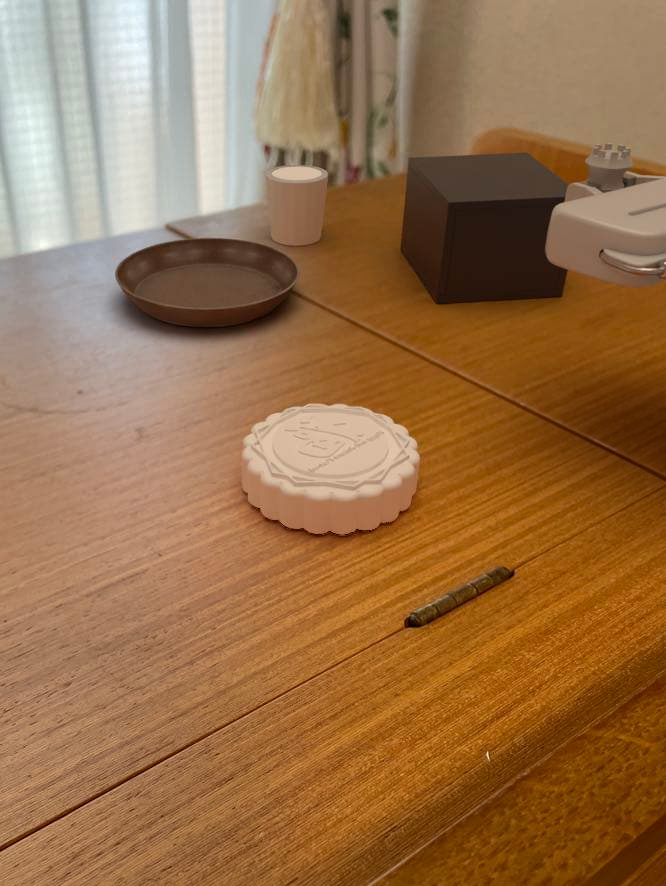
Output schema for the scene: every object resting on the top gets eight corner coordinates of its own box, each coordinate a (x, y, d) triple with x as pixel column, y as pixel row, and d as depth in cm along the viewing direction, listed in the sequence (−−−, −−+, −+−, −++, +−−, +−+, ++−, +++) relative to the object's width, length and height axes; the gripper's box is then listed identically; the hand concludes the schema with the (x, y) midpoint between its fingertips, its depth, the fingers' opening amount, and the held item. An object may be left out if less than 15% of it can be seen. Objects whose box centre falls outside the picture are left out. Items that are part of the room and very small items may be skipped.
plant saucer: (322, 277, 89) (323, 248, 87) (260, 350, 76) (259, 318, 74) (167, 256, 94) (165, 228, 92) (84, 321, 82) (80, 290, 80)
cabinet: (400, 250, 95) (408, 157, 89) (511, 244, 96) (527, 152, 90) (436, 304, 84) (448, 202, 78) (562, 296, 85) (584, 195, 79)
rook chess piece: (617, 273, 64) (645, 158, 59) (554, 266, 65) (577, 153, 60) (618, 252, 67) (645, 142, 62) (558, 246, 68) (580, 137, 63)
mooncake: (326, 421, 67) (328, 379, 65) (451, 486, 60) (458, 442, 58) (206, 482, 61) (203, 438, 58) (330, 563, 54) (332, 516, 51)
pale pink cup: (293, 252, 95) (293, 186, 91) (253, 235, 99) (252, 171, 95) (338, 237, 98) (341, 173, 94) (298, 222, 103) (299, 160, 98)
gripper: (638, 330, 52) (479, 258, 61) (839, 261, 60) (672, 207, 70) (667, 224, 48) (493, 165, 58) (878, 166, 56) (696, 122, 66)
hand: (593, 188), depth 64 cm, fingers closed on rook chess piece, 3 cm apart
